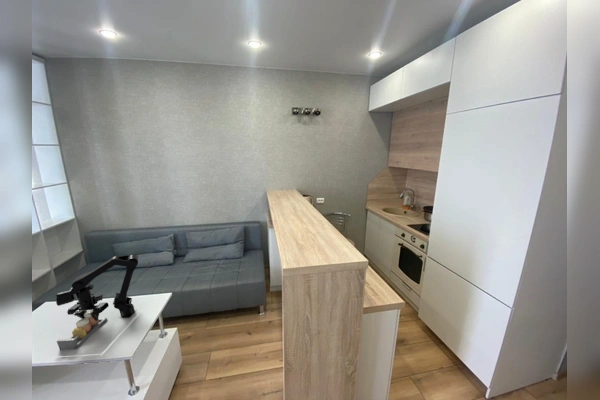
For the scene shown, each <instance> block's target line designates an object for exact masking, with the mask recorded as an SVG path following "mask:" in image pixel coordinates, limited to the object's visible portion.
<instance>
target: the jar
mask: <svg viewBox="0 0 600 400" xmlns="http://www.w3.org/2000/svg"><path fill="white" fill-rule="evenodd" d="M92 312H93V310H87V312H85V313H84V317H85V318H89V321H90V325H91V327H93V326H95V325H97V324H98V323H99V319H100V318H98V320H97V321H96V320H95V319H94V318H93V317H92V316H91V313H92Z"/></svg>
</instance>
